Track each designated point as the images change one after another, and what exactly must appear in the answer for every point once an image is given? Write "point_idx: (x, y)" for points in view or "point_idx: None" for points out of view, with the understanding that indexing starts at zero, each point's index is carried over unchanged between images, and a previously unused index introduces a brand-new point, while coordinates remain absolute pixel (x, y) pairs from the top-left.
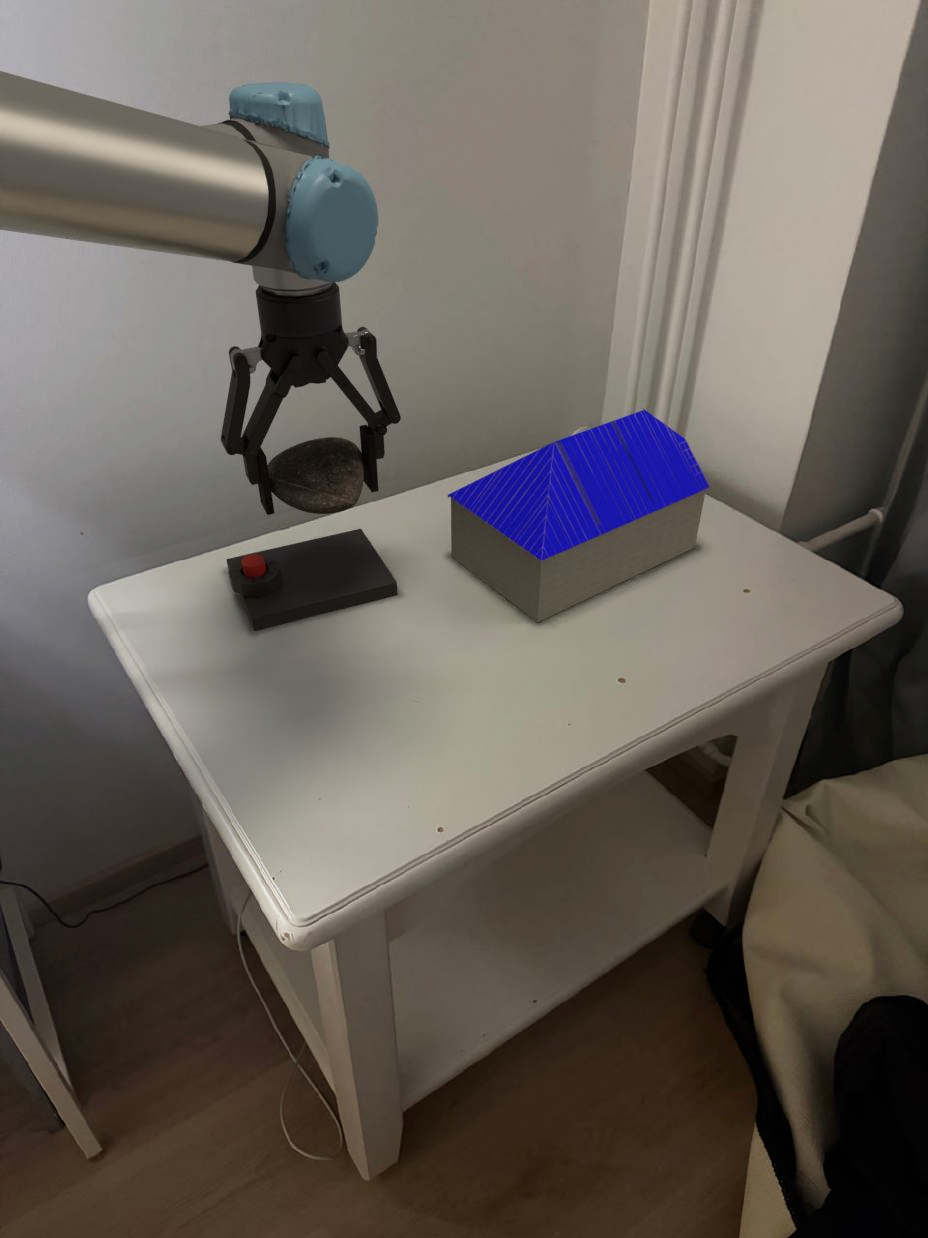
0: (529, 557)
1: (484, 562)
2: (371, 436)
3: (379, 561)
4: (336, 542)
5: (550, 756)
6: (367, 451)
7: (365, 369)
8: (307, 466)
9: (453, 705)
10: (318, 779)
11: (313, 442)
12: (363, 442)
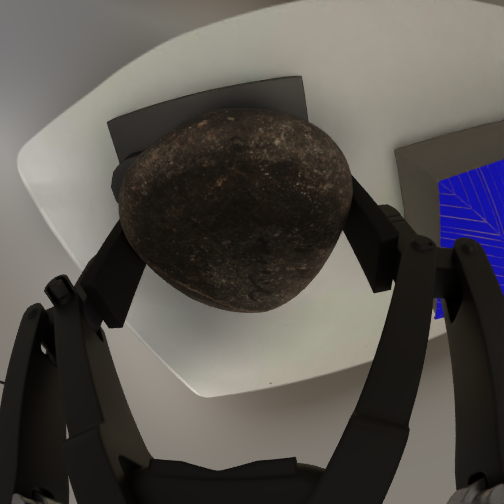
0: (435, 300)
1: (414, 217)
2: (381, 291)
3: None
4: (258, 104)
5: (342, 361)
6: (360, 252)
7: (481, 401)
8: (212, 243)
9: (309, 330)
10: (212, 359)
11: (235, 167)
12: (365, 236)
